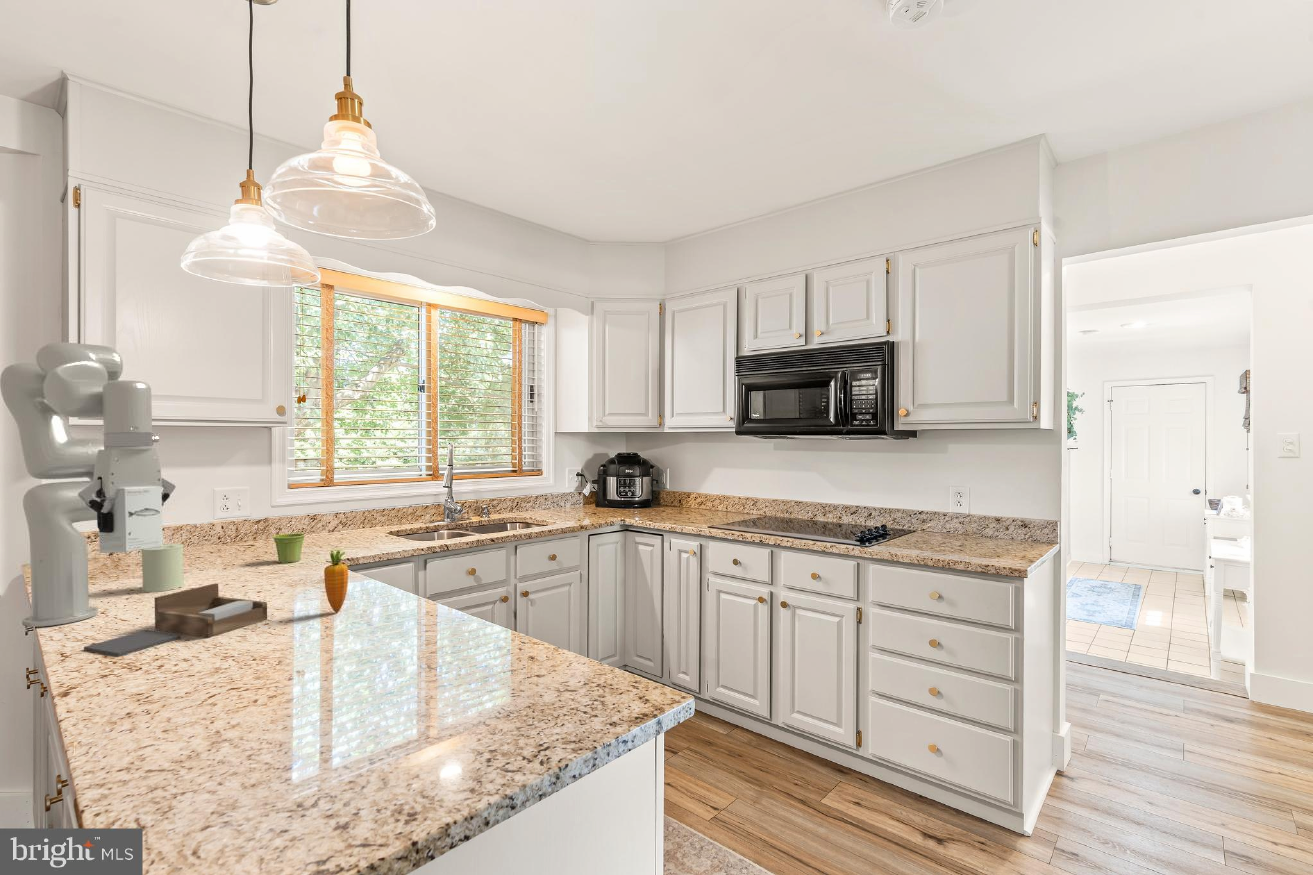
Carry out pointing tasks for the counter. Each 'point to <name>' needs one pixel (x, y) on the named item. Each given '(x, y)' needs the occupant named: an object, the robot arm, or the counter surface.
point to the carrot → (336, 581)
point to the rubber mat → (132, 642)
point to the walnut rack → (185, 607)
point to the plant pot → (289, 547)
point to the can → (162, 568)
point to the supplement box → (134, 521)
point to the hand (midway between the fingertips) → (130, 528)
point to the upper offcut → (228, 609)
